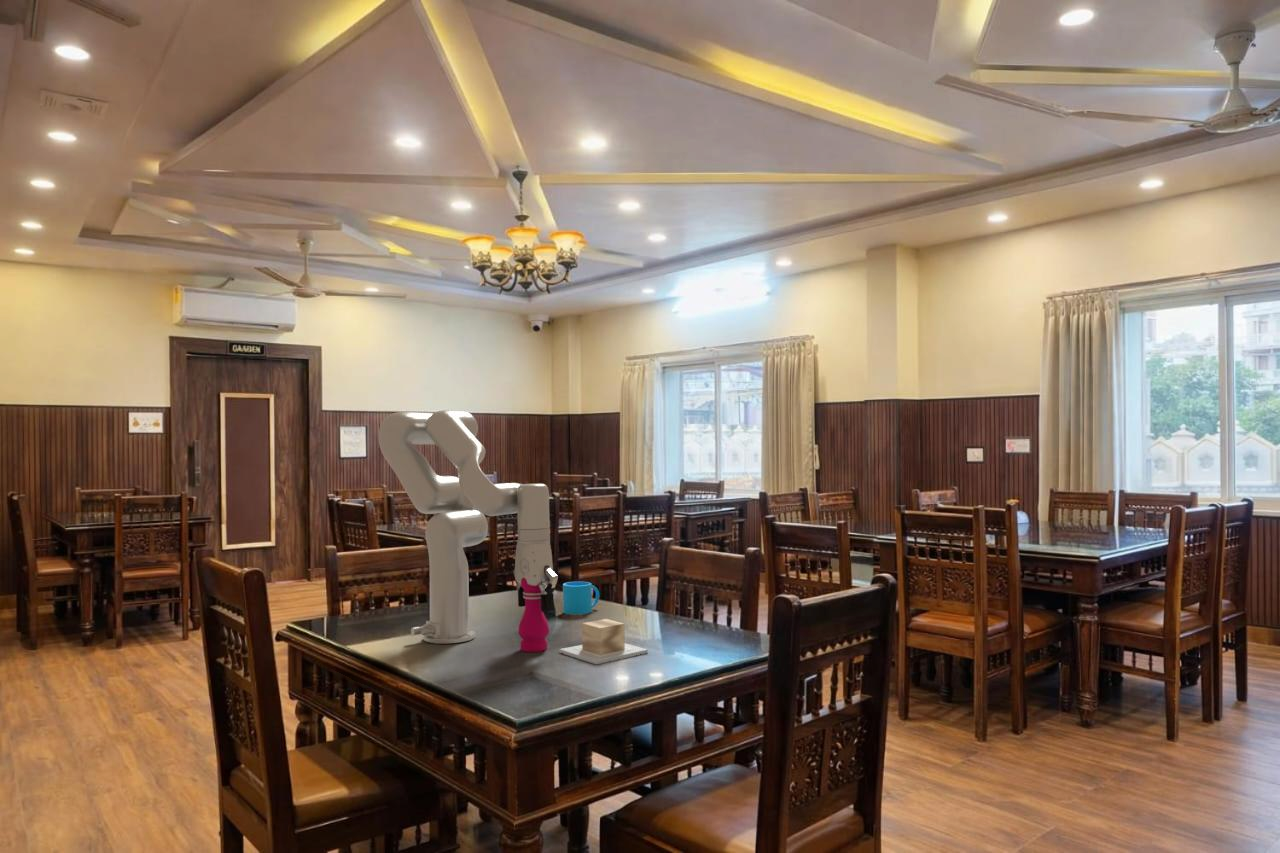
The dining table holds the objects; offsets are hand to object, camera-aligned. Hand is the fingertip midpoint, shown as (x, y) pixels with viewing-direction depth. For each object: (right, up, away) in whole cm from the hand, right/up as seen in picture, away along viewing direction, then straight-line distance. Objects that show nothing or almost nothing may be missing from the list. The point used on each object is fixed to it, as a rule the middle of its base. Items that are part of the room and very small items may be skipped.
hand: (535, 608), depth 200 cm
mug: (+8, -11, +44) cm, 46 cm away
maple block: (+16, -9, -4) cm, 19 cm away
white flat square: (+16, -9, -4) cm, 19 cm away
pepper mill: (0, -10, 0) cm, 10 cm away
